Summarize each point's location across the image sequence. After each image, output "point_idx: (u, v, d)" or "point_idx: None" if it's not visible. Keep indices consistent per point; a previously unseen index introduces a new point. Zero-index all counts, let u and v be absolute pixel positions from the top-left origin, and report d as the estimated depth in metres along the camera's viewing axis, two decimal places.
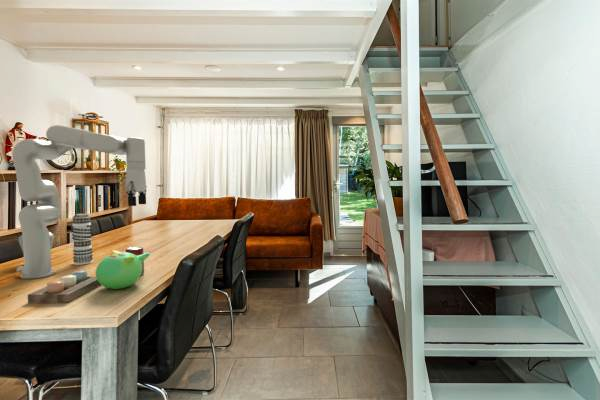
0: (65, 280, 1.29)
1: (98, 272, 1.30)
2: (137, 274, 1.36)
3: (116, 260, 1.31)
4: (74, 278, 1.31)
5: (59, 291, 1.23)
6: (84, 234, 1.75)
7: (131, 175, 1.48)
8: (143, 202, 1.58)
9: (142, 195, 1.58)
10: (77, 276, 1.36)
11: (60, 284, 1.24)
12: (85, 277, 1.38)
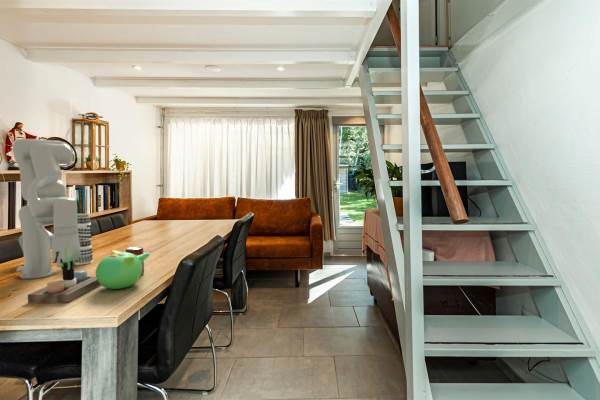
0: (65, 283, 1.29)
1: (98, 272, 1.30)
2: (137, 274, 1.36)
3: (116, 260, 1.31)
4: (74, 281, 1.31)
5: (59, 291, 1.23)
6: (84, 234, 1.75)
7: (58, 244, 1.26)
8: None
9: None
10: (77, 276, 1.36)
11: (60, 284, 1.24)
12: (85, 277, 1.38)
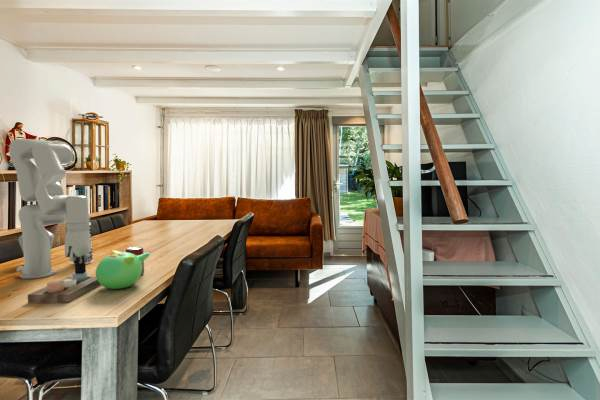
0: (65, 284, 1.29)
1: (98, 272, 1.30)
2: (137, 274, 1.36)
3: (116, 260, 1.31)
4: (74, 282, 1.31)
5: (59, 291, 1.23)
6: None
7: (70, 239, 1.33)
8: None
9: None
10: (77, 277, 1.36)
11: (60, 284, 1.24)
12: (85, 278, 1.38)
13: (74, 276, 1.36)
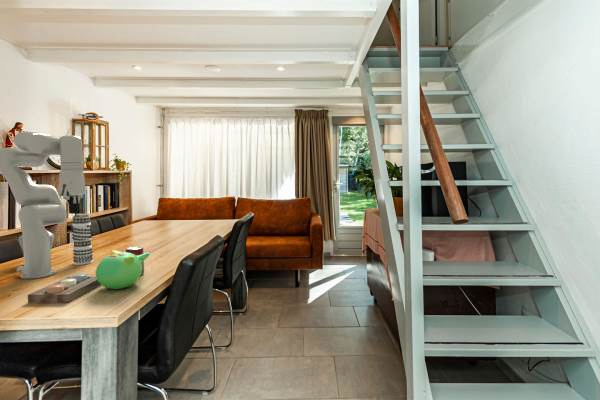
0: (65, 284, 1.29)
1: (98, 272, 1.30)
2: (137, 274, 1.36)
3: (116, 260, 1.31)
4: (74, 282, 1.31)
5: None
6: (84, 234, 1.75)
7: (64, 177, 1.34)
8: None
9: None
10: (77, 279, 1.36)
11: (60, 288, 1.24)
12: None
13: (74, 278, 1.36)
